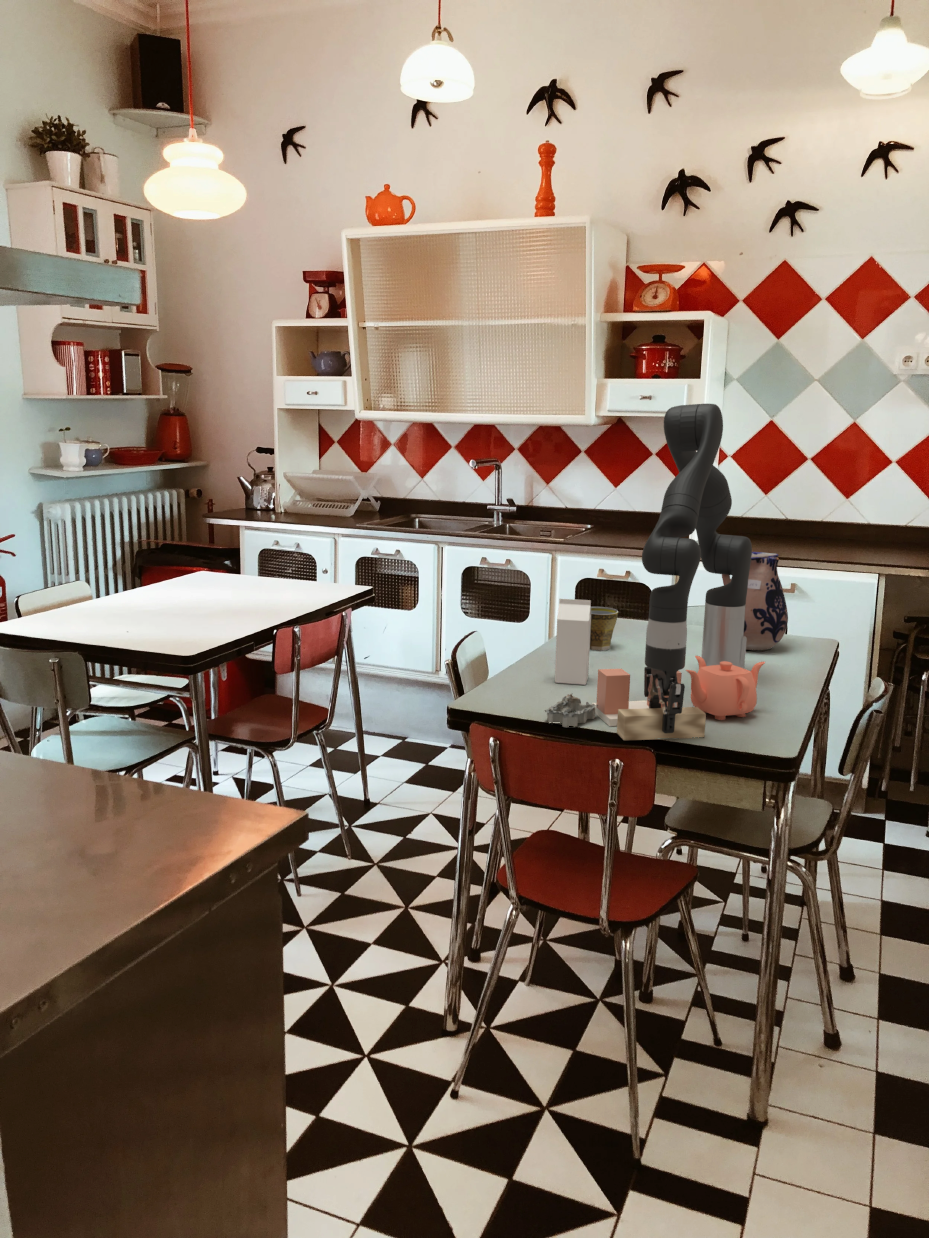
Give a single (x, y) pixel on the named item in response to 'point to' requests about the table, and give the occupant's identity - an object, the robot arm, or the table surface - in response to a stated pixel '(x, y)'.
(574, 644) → the milk carton
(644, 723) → the oak beam
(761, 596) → the ceramic pitcher
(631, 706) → the cream and salmon bracket
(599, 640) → the ceramic cup
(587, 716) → the egg carton
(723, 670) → the teapot
